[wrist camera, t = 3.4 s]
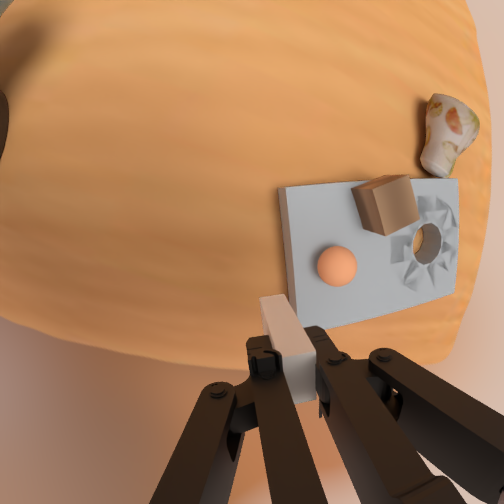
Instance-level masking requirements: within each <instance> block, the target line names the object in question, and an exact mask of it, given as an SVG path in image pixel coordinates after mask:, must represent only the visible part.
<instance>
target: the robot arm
mask: <svg viewBox="0 0 504 504" xmlns="http://www.w3.org/2000/svg"><path fill="white" fill-rule="evenodd" d="M13 1H14V0H0V16H1V15H2V14H3V13H4V11H5V10H6V9H7V8H8V6H9V5H10V4H11V3H12V2H13ZM7 127H8V105H7V100H6V97H5V95H4V94H3V92H2V91H1V90H0V157H1V154H2V151H3V147H4V144H5V139H6V134H7ZM259 300H260V308H261V316H262V324H263V332H264V336H257V337H251V338H249V339H248V341H247V342H246V348H247V355H248V364H249V370H250V376H249V378H248V379H247V380H246V381H245V382H243V383H242V384H239V385H237V386H234V387H233V385H231V384H229V383H227V382H215V383H212V384H209V385H207V386H206V387H205V388H204V389H203V390H202V392H201V394H200V396H199V398H198V400H197V402H196V405H195V407H194V409H193V411H192V413H191V416H190V418H189V420H188V422H187V424H186V426H185V429H184V431H183V433H182V435H181V437H180V439H179V441H178V444H177V446H176V448H175V450H174V452H173V454H172V456H171V458H170V460H169V463H168V465H167V467H166V469H165V471H164V473H163V475H162V477H161V480H160V482H159V484H158V486H157V488H156V490H155V492H154V494H153V497H152V499H151V500H150V503H149V504H228V500H229V496H230V493H231V489H232V485H233V480H234V477H235V473H236V469H237V465H238V460H239V457H240V453H241V448H242V444H243V440H244V436H245V432H246V431H248V430H251V429H253V428H256V427H258V426H259V432H260V438H261V444H262V449H263V456H264V461H265V467H266V473H267V478H268V484H269V490H270V495H271V500H272V504H328V502H327V499H326V496H325V493H324V490H323V488H322V485H321V482H320V479H319V476H318V473H317V470H316V467H315V464H314V461H313V458H312V455H311V452H310V449H309V447H308V444H307V440H306V438H305V435H304V432H303V429H302V426H301V423H300V420H299V417H298V414H297V411H296V408H295V405H294V404H298V403H302V402H307V401H312V400H316V391H317V393H318V396H319V418H321V417H322V414H323V416H324V418H325V421H326V423H327V425H328V427H329V430H330V432H331V434H332V437H333V439H334V441H335V444H336V446H337V448H338V451H339V453H340V455H341V458H342V460H343V462H344V465H345V467H346V469H347V471H348V474H349V476H350V479H351V481H352V483H353V486H354V488H355V490H356V492H357V495H358V497H359V499H360V502H361V504H467V503H466V502H465V501H464V499H463V498H462V496H461V495H460V493H459V492H458V490H457V489H456V488H455V486H454V485H453V483H452V482H451V481H450V480H449V479H448V478H447V477H445V476H435V475H433V474H432V473H431V472H430V470H429V469H428V467H427V466H426V464H425V463H424V461H423V460H422V458H421V457H420V455H419V454H418V453H417V451H418V452H419V453H420V454H421V455H422V456H424V457H425V458H426V459H427V460H429V461H430V462H431V463H432V464H433V465H435V466H436V467H437V468H438V469H439V470H441V471H442V472H443V473H444V474H446V475H447V476H448V477H449V478H451V479H452V480H453V481H455V482H456V483H457V484H458V485H460V486H461V487H462V488H464V489H465V490H466V491H468V492H469V493H470V494H471V495H473V496H475V497H476V498H477V499H479V500H481V501H483V502H485V503H487V504H504V416H503V415H501V414H500V413H498V412H496V411H495V410H493V409H491V408H489V407H488V406H486V405H484V404H483V403H481V402H479V401H478V400H476V399H474V398H473V397H471V396H469V395H468V394H466V393H464V392H463V391H461V390H459V389H458V388H456V387H454V386H453V385H451V384H449V383H448V382H446V381H444V380H443V379H441V378H439V377H438V376H436V375H434V374H433V373H431V372H429V371H428V370H426V369H424V368H423V367H421V366H420V365H418V364H416V363H415V362H413V361H411V360H410V359H408V358H406V357H405V356H403V355H402V354H400V353H398V352H397V351H395V350H393V349H390V348H379V349H376V350H374V351H372V352H371V353H370V355H369V359H361V360H354V359H351V357H350V356H349V355H348V354H347V353H344V352H340V351H338V349H337V348H336V346H335V345H334V343H333V342H332V340H331V339H330V338H329V336H328V335H327V333H326V332H325V330H324V329H323V328H321V327H319V326H317V325H315V326H310V327H305V328H303V327H302V325H301V323H300V321H299V320H298V318H297V316H296V314H295V312H294V311H293V309H292V307H291V305H290V304H289V302H288V300H287V298H286V297H285V295H284V294H278V295H272V296H266V297H259ZM393 388H394V389H395V390H396V391H398V393H396V392H394V391H393Z"/></svg>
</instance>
